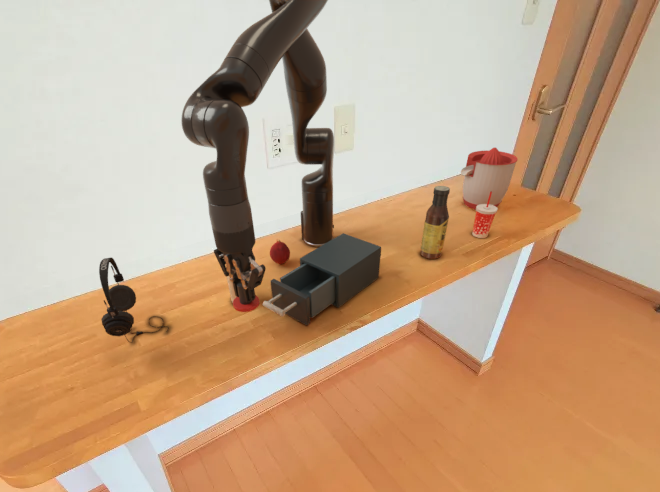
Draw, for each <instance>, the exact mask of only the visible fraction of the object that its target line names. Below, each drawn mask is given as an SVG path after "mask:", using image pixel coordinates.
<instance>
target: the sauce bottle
mask: <svg viewBox="0 0 660 492" xmlns="http://www.w3.org/2000/svg"><path fill="white" fill-rule="evenodd" d="M450 189H451V188H450V187H449V186H446V185H437V186H436V185H435V186H434V188H433V198H432V201H431V202H432V203H431V205H430V206H429V208H428V209H427V211H426V212H425V219H424V223H423V224H424V225H423V230H422V236H421V242H420V243H421V244H420V255H421V256H422V257H423V258H425V259H430V260H435V259H438V258H440V257H441V256H442V253H443V250H444V244H445V239H446V236H447V235H446V234H447V230H448V225H449V224H448V223H449V220H450V214H449V210H448V199H449V194H450V193H451V192H450V191H451V190H450Z"/></svg>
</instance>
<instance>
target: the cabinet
mask: <svg viewBox="0 0 660 492" xmlns="http://www.w3.org/2000/svg"><path fill="white" fill-rule="evenodd" d="M381 255H382V246H381V245H377V244H375V243H372V242H369V241H367V240H363V239H361V238H358V237H355V236H352V235H350V234H347V233H344V232H342V233H340V234H339V235H338V236H336V237H333V239H332V240H330V241H329V242H327V243H325V244H324V245H322V246H320V247H316V248H315V249H313V250H312V251H309V252H308V253H306V254H304V255H303V256H301V257H300V258H299V266H301V265H303V264H304V263H306V264H308V265H310V266H313V267H315V268H317V269H319V270H322V271H324V272H326V273H328V274H331V275H333V276H335V277H336V301H335V302H334V303H332V304H331V305H332V306H334V307H335V308H341V307H342V306H343V305H344V304H346V303H347V302H348V301H350V300H351V299H353V298H354V297H355V296H356V295H358V294H359V293H361V292H362V291H363V290H364V289H365V288H367V287H369V285H370V286H371V284H373V283H374V282H375V281H377V280H378V279H379V277H380V266H381Z"/></svg>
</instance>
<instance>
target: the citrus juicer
mask: <svg viewBox="0 0 660 492" xmlns="http://www.w3.org/2000/svg"><path fill="white" fill-rule="evenodd" d="M518 161H519V160H518V157H517V156H516V155H514V154H512V153H509V152H505V151H499V149H498V148H497V147H492V148H491V149H489V150H477V151H473V152H470V153H469V154H468V155H467V160H466V165H465V166H464V167H462V169H461V170H460V175H462V176H464V177H463V182H462V183H463V184H462V200H463V204H464V206H466V207H468V208H470V209H473V210H474V211H476V206H477V205H479V204H487V202H488V199H489V195H490V191H492V194H491V198H490V201H489V204H490V205H493V206H496V207H497V208H498V206H500V205H501V203H502V201H503V199H504V198H505V197H506V194H507V193H508V190H509V187H510V184H511V182H512V177H513V174H514V171H515V167H516V164H517V162H518Z"/></svg>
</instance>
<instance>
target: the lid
mask: <svg viewBox="0 0 660 492" xmlns="http://www.w3.org/2000/svg"><path fill="white" fill-rule="evenodd" d="M247 282H248V281H247ZM237 289H238V295H239V297H236V298H235V299H234V300H233V303H232V306H233V309H234V310H235V311H237V312H239V313H240V312H241V313H249V312H252V311H254V310H256V309H258V308H259V306H260V303H261V302H260V298H259V296H257V295H256V294H255V296H256V297H255V299H254V300H253V301H251V302H250V303H247V302H245V298H244V292H243V286H242V282H241V281H239V282H238V283H237Z"/></svg>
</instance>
